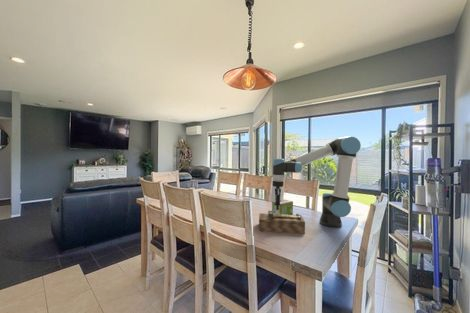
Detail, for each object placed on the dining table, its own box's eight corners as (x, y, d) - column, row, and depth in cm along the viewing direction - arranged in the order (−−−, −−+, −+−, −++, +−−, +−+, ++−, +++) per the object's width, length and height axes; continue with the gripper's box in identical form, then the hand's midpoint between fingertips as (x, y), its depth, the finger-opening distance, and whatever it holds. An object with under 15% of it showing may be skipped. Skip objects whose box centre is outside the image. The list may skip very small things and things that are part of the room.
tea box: (281, 223, 156) (282, 203, 156) (271, 220, 164) (271, 201, 164) (293, 219, 166) (293, 200, 166) (282, 216, 174) (282, 198, 174)
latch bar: (298, 216, 146) (299, 214, 146) (299, 218, 142) (300, 216, 142) (269, 213, 149) (269, 211, 149) (269, 215, 145) (269, 213, 145)
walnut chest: (301, 225, 151) (301, 210, 151) (305, 233, 137) (305, 217, 137) (259, 223, 155) (259, 209, 154) (259, 231, 141) (259, 215, 140)
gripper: (272, 179, 152) (271, 211, 153) (273, 181, 139) (272, 216, 140) (282, 179, 151) (281, 211, 152) (284, 182, 138) (283, 217, 139)
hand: (277, 214), depth 146 cm, fingers closed
